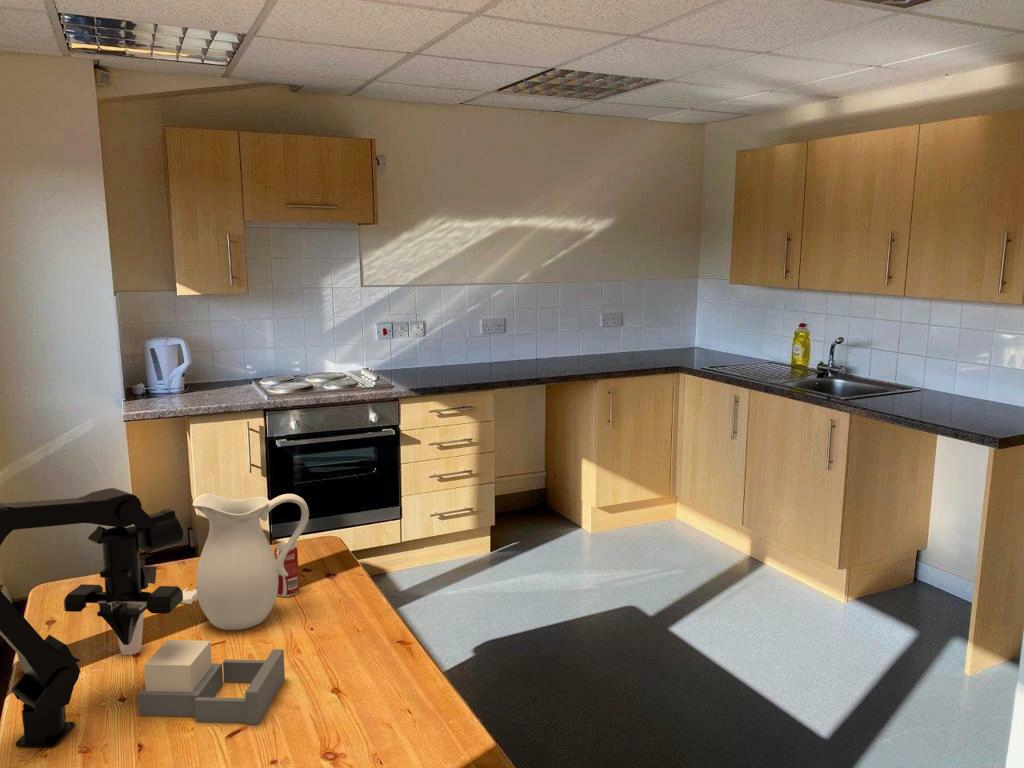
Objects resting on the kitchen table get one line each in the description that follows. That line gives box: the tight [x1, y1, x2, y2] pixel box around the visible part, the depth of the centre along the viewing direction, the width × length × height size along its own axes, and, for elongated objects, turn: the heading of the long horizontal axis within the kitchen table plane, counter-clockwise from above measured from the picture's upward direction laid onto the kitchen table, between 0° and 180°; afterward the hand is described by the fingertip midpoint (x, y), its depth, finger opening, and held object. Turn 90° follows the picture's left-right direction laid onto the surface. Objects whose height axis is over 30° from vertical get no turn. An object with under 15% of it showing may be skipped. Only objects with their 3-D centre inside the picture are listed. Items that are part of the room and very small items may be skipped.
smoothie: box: [116, 611, 145, 656], centre depth 163 cm, size 6×6×14 cm
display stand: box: [137, 648, 286, 726], centre depth 146 cm, size 15×22×6 cm
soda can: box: [273, 540, 300, 598], centre depth 191 cm, size 5×5×12 cm
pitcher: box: [192, 493, 310, 631], centre depth 177 cm, size 24×17×28 cm
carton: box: [144, 639, 213, 692], centre depth 146 cm, size 9×8×5 cm
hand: (127, 643), depth 145 cm, fingers closed
